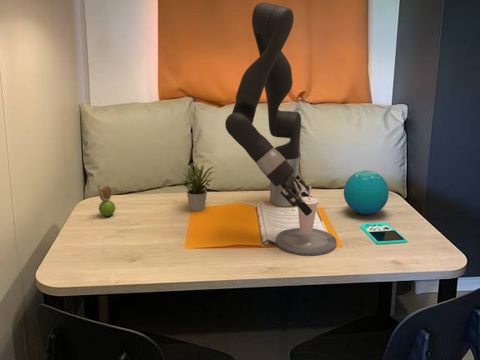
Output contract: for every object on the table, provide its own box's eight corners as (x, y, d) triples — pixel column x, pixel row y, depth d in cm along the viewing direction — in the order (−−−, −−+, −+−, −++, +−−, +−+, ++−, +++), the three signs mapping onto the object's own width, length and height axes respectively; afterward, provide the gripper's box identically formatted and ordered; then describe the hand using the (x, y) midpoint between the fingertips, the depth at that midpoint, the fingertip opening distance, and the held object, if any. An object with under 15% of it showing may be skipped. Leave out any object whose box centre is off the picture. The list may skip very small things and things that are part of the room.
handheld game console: (387, 225, 182) (387, 221, 181) (408, 244, 166) (409, 240, 166) (357, 226, 180) (358, 223, 180) (376, 246, 165) (377, 242, 165)
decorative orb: (349, 203, 200) (351, 163, 195) (391, 209, 194) (394, 168, 189) (337, 216, 187) (339, 174, 183) (381, 224, 181) (385, 180, 176)
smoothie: (316, 235, 161) (318, 190, 157) (294, 233, 162) (296, 188, 158) (317, 227, 167) (320, 183, 163) (296, 225, 168) (298, 181, 164)
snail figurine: (94, 218, 185) (91, 184, 181) (105, 212, 191) (103, 178, 187) (107, 220, 183) (105, 185, 179) (118, 214, 189) (116, 180, 185)
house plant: (228, 206, 196) (228, 162, 191) (205, 218, 185) (205, 171, 180) (196, 199, 203) (195, 156, 199) (172, 210, 192) (171, 165, 187)
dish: (263, 241, 167) (263, 237, 167) (305, 226, 178) (305, 223, 178) (306, 261, 154) (306, 257, 153) (348, 244, 165) (349, 240, 164)
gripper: (276, 165, 155) (316, 210, 154) (290, 153, 167) (327, 195, 167) (258, 181, 158) (297, 225, 157) (273, 168, 171) (309, 209, 170)
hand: (312, 209), depth 162 cm, fingers closed on smoothie, 6 cm apart
